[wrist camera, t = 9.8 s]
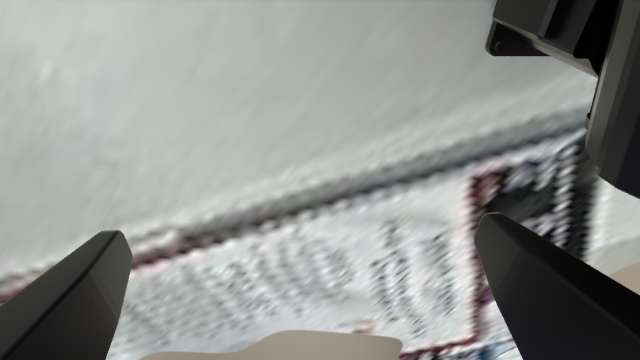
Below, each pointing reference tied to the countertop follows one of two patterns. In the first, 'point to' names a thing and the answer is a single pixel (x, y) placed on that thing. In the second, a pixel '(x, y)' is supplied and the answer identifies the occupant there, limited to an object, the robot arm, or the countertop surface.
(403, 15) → the countertop surface
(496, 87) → the countertop surface
